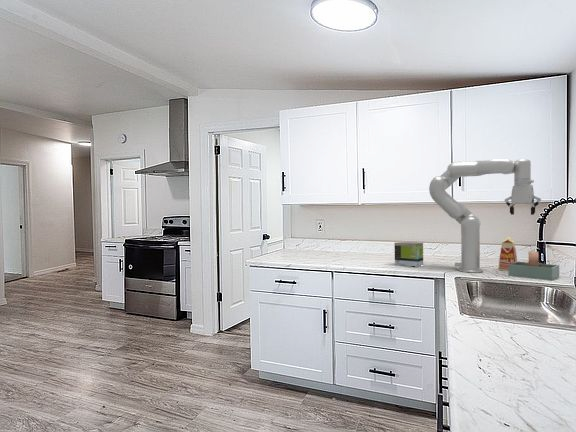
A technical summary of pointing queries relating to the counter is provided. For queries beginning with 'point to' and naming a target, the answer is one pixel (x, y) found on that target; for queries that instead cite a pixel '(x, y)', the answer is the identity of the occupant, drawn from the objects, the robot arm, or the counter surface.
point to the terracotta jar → (533, 257)
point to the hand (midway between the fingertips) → (522, 214)
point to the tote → (534, 271)
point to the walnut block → (533, 264)
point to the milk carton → (507, 254)
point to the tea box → (409, 253)
